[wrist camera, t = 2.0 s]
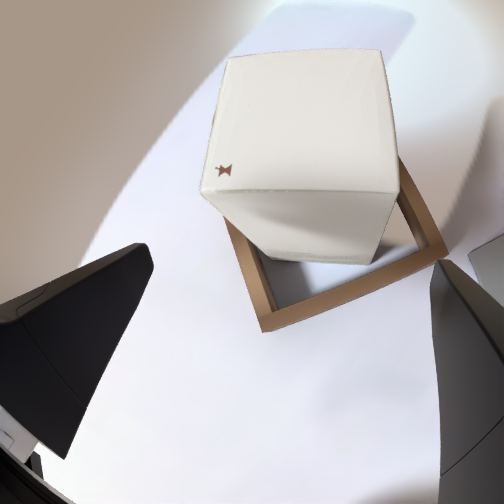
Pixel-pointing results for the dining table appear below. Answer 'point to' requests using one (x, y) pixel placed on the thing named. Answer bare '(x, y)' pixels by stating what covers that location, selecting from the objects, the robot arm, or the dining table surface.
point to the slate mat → (490, 268)
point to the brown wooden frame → (427, 256)
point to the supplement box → (305, 153)
